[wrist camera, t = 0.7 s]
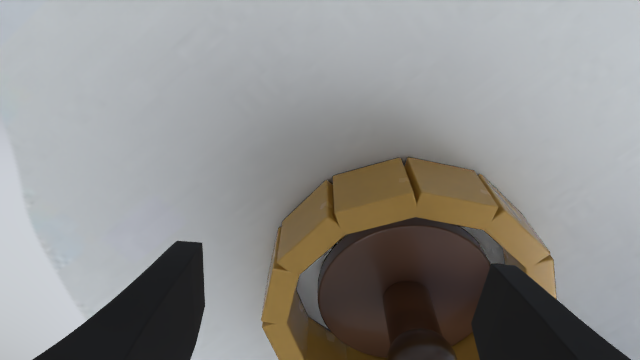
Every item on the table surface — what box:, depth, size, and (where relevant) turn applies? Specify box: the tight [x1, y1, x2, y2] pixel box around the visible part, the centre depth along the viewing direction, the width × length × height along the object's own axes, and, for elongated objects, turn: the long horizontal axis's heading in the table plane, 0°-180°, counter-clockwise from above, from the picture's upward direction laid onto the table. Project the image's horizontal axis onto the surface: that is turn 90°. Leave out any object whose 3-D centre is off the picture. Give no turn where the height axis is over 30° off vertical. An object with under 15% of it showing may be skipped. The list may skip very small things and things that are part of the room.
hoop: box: [261, 157, 557, 360], centre depth 22 cm, size 13×13×3 cm
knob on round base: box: [318, 217, 491, 360], centre depth 21 cm, size 9×9×6 cm
